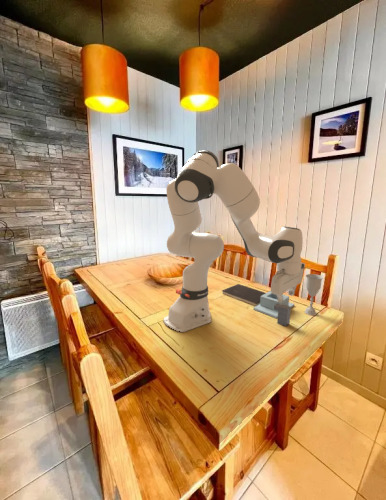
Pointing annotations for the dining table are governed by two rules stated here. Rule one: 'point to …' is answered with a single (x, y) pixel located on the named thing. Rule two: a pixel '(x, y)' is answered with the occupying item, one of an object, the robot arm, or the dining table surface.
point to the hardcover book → (244, 294)
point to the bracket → (283, 314)
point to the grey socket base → (271, 304)
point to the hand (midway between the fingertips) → (285, 298)
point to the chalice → (312, 290)
